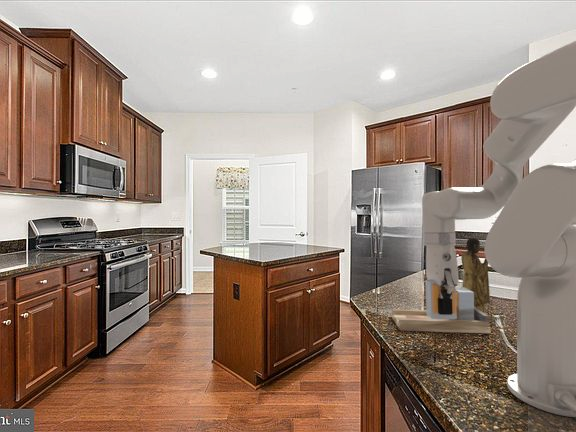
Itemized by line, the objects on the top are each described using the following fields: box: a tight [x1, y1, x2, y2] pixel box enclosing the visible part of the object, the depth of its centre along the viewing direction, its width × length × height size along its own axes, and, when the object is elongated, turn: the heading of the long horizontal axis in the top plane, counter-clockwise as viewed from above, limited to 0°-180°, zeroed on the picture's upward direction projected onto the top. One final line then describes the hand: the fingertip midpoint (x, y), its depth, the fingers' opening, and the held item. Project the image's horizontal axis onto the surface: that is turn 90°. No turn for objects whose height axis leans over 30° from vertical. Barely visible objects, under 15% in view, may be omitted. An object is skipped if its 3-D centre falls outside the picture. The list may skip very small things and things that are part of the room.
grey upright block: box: [424, 279, 457, 319], centre depth 82 cm, size 6×5×9 cm
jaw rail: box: [391, 286, 492, 334], centre depth 95 cm, size 12×24×10 cm, turn 83°
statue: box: [460, 236, 491, 315], centre depth 106 cm, size 9×9×25 cm
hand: (441, 310), depth 82 cm, fingers closed on grey upright block, 4 cm apart
